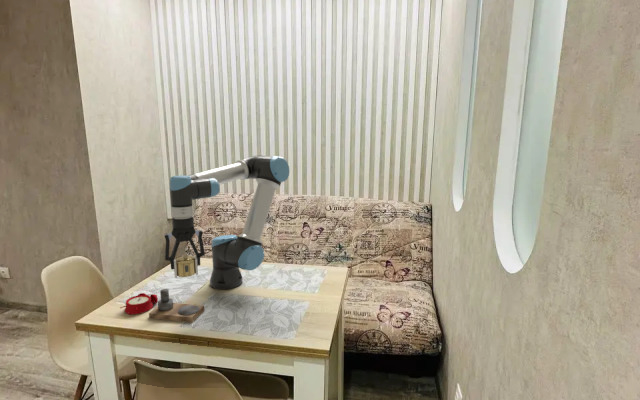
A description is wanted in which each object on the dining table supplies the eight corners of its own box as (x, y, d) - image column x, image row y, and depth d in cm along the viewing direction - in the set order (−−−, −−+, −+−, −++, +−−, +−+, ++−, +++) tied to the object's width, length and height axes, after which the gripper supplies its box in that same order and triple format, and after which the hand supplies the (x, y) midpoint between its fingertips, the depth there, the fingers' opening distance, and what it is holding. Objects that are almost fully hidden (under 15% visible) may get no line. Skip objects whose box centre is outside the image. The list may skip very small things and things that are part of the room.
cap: (176, 272, 144) (174, 254, 143) (194, 269, 147) (193, 252, 146) (177, 278, 138) (176, 259, 137) (196, 275, 141) (195, 257, 139)
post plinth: (149, 318, 143) (147, 295, 142) (164, 306, 153) (162, 284, 151) (191, 322, 140) (190, 298, 138) (204, 310, 150) (203, 288, 148)
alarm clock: (115, 306, 146) (140, 283, 159) (119, 318, 148) (144, 295, 161) (138, 309, 143) (161, 286, 157) (142, 321, 146) (165, 298, 159)
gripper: (154, 221, 131) (158, 282, 135) (211, 216, 139) (214, 274, 143) (153, 217, 138) (158, 275, 142) (208, 212, 146) (211, 268, 150)
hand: (186, 275), depth 143 cm, fingers closed on cap, 7 cm apart
